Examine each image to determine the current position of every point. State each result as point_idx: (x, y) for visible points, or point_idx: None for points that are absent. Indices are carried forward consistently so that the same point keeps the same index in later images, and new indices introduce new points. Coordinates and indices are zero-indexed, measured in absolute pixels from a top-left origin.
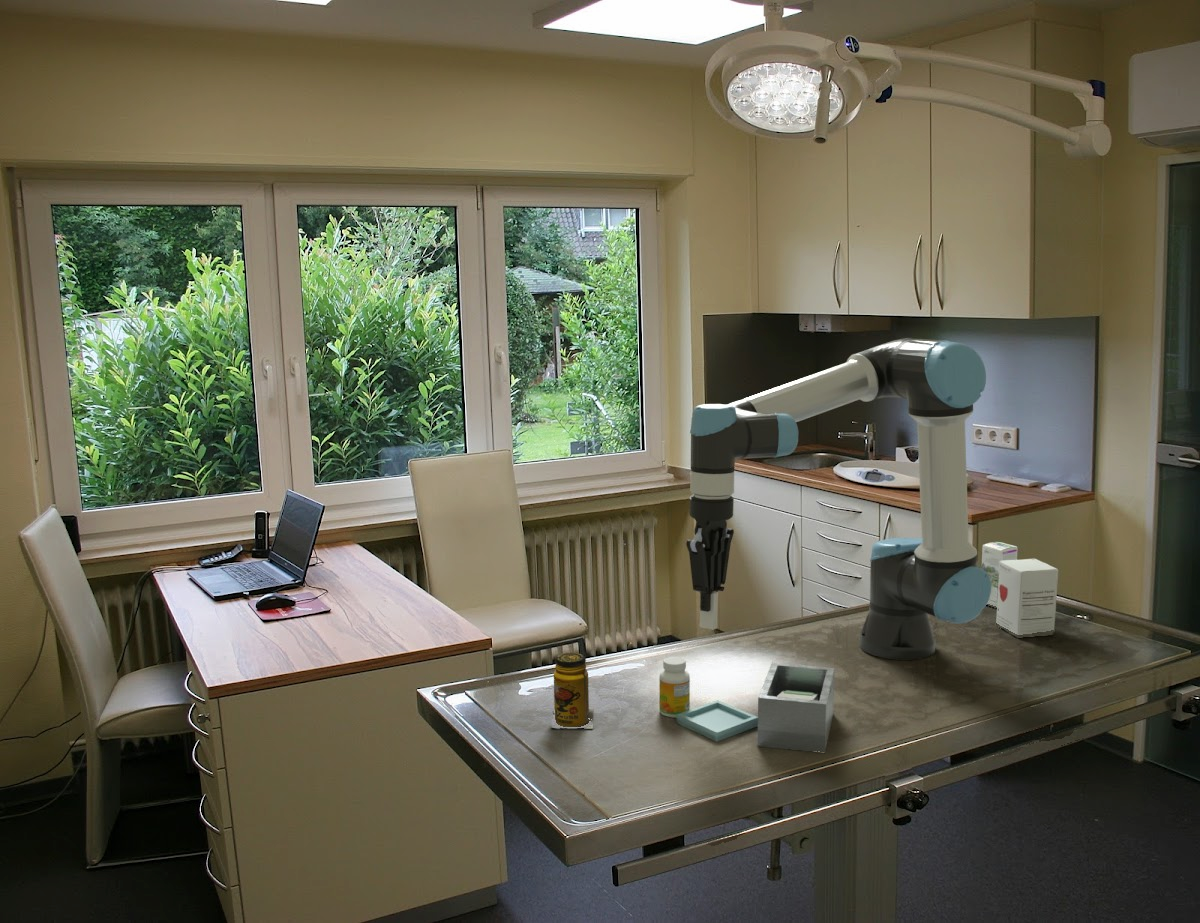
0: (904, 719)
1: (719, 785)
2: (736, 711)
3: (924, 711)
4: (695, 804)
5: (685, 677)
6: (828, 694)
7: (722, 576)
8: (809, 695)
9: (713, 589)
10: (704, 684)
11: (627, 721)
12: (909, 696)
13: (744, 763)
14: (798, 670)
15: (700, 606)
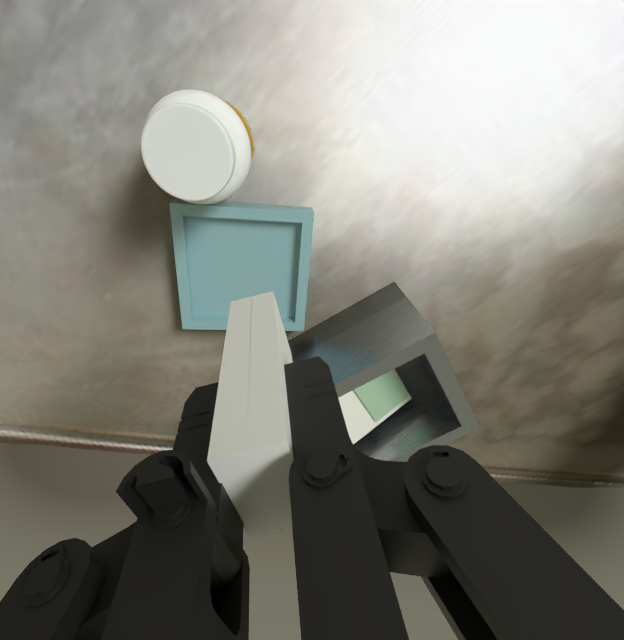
0: (475, 431)
1: (80, 420)
2: (297, 282)
3: (517, 430)
4: (6, 438)
5: (206, 202)
6: None
7: (449, 618)
8: (373, 418)
9: (249, 570)
10: (422, 56)
11: (61, 88)
12: (567, 392)
13: (168, 397)
14: (438, 381)
15: (182, 413)
